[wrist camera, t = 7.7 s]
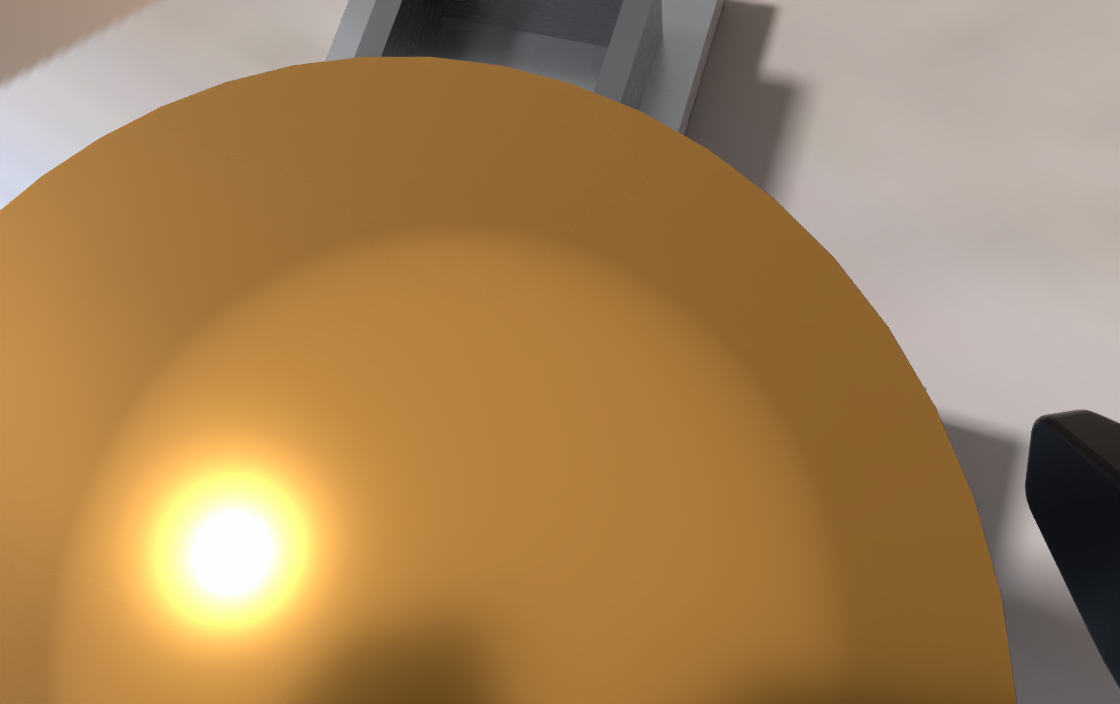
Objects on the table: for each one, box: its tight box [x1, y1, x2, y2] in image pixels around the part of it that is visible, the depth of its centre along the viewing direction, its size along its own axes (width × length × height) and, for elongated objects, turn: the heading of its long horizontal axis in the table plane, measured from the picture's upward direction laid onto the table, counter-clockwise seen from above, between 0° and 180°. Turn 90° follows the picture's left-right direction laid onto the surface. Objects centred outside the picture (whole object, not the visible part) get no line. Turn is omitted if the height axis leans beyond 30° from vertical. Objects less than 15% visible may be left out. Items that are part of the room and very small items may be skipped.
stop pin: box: [0, 57, 1017, 704], centre depth 10 cm, size 5×5×14 cm
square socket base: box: [326, 0, 724, 135], centre depth 19 cm, size 9×8×3 cm
